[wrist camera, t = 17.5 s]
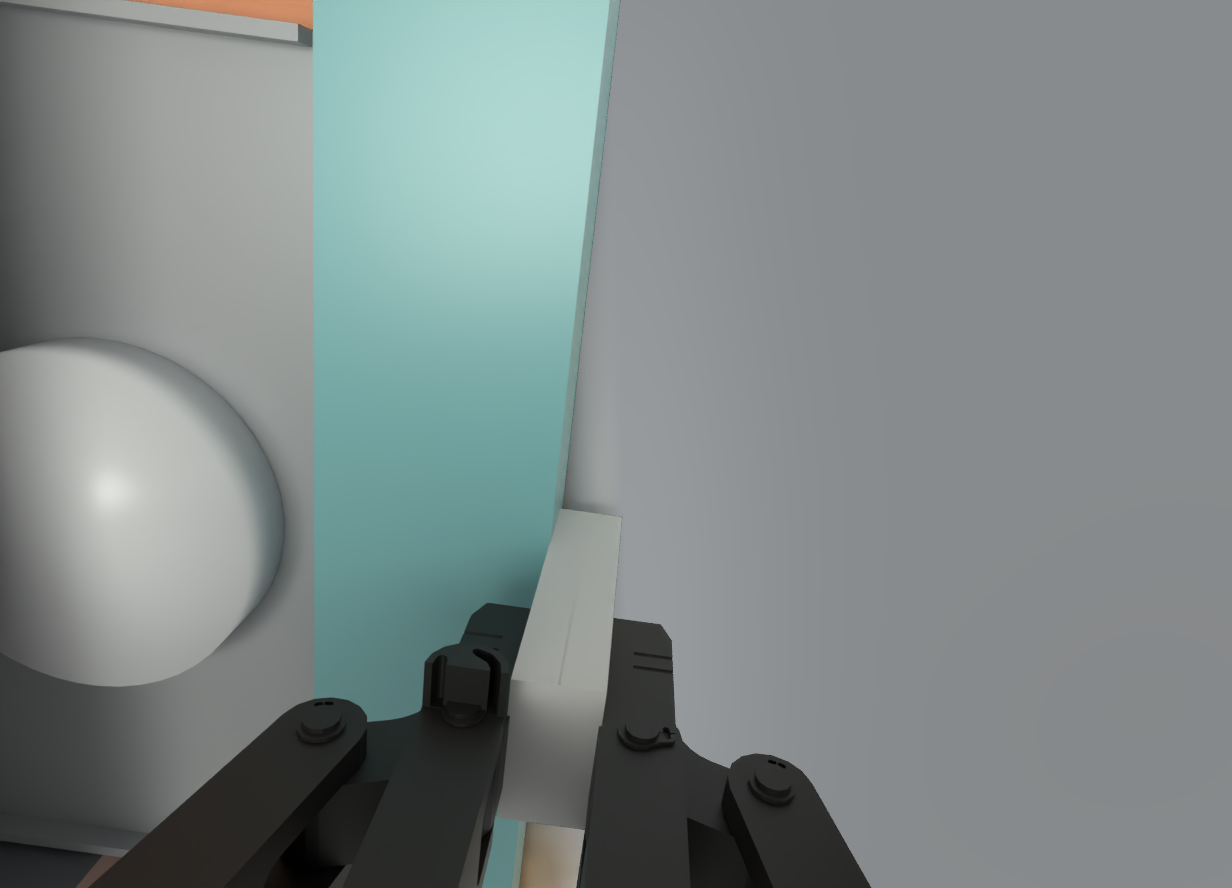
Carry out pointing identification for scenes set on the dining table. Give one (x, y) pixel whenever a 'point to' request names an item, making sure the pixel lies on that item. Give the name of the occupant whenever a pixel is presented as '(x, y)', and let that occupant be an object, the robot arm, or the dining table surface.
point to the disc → (125, 514)
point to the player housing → (49, 866)
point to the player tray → (308, 337)
